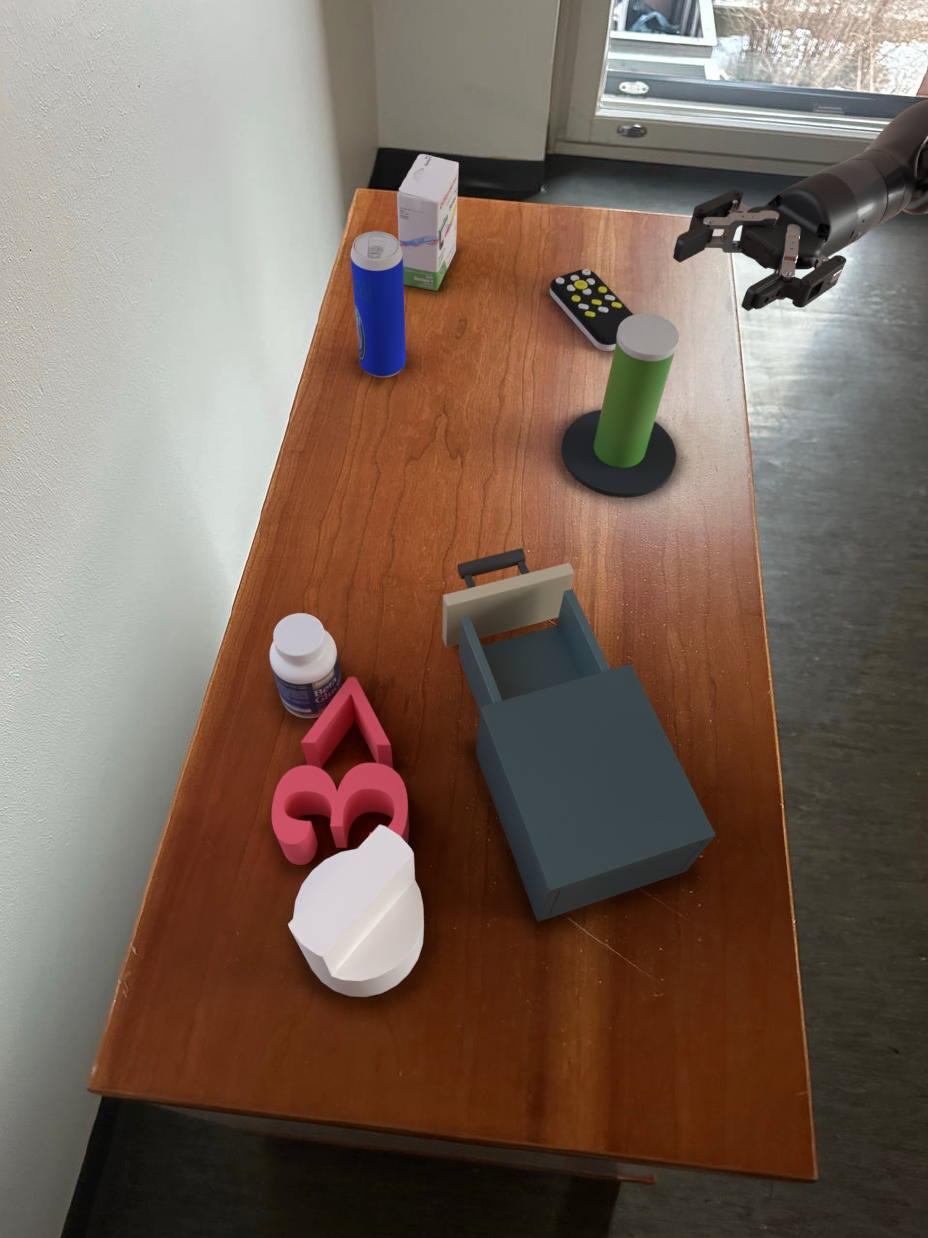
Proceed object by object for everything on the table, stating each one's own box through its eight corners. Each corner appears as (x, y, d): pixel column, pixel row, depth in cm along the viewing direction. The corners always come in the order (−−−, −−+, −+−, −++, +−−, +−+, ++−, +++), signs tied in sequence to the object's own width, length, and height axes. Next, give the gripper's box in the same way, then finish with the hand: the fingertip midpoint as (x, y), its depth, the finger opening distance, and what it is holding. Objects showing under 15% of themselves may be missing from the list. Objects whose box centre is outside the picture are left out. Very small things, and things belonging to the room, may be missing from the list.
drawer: (428, 599, 82) (427, 555, 76) (543, 570, 84) (551, 525, 79) (491, 771, 73) (497, 736, 68) (618, 732, 76) (634, 695, 70)
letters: (300, 702, 77) (292, 674, 73) (417, 707, 77) (416, 679, 73) (276, 864, 70) (266, 843, 65) (406, 869, 70) (404, 849, 65)
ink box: (437, 292, 107) (438, 201, 97) (398, 284, 108) (395, 192, 98) (457, 250, 111) (460, 158, 101) (419, 242, 112) (418, 150, 102)
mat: (646, 402, 98) (647, 398, 98) (694, 482, 92) (696, 478, 92) (544, 425, 96) (544, 421, 95) (587, 508, 90) (588, 505, 89)
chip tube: (650, 436, 95) (684, 320, 82) (640, 474, 92) (674, 360, 79) (598, 424, 95) (624, 307, 83) (587, 461, 92) (612, 346, 80)
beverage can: (363, 346, 101) (354, 226, 89) (408, 350, 101) (405, 231, 89) (356, 378, 99) (345, 259, 86) (402, 382, 99) (398, 264, 86)
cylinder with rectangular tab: (361, 850, 70) (349, 793, 60) (448, 925, 68) (451, 879, 57) (278, 940, 67) (250, 896, 56) (367, 1025, 64) (355, 994, 54)
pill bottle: (327, 729, 76) (314, 673, 68) (270, 708, 77) (250, 651, 69) (353, 676, 79) (344, 617, 70) (298, 657, 80) (282, 596, 71)
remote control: (601, 356, 102) (603, 342, 100) (544, 291, 108) (546, 277, 106) (646, 340, 104) (649, 326, 102) (587, 277, 109) (590, 262, 108)
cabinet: (475, 753, 75) (480, 706, 68) (612, 712, 78) (631, 663, 70) (537, 922, 68) (550, 890, 61) (686, 871, 70) (715, 835, 63)
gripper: (782, 141, 86) (664, 199, 80) (903, 213, 80) (785, 280, 75) (758, 213, 92) (647, 271, 87) (869, 284, 87) (758, 351, 81)
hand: (711, 275), depth 81 cm, fingers open, 8 cm apart
